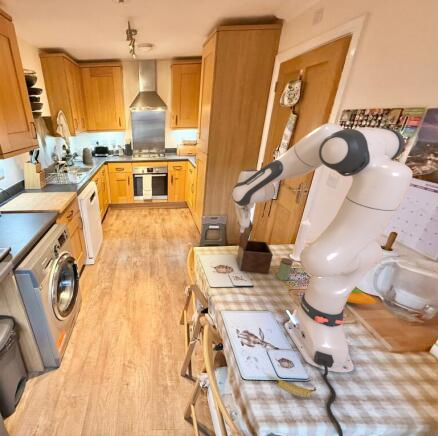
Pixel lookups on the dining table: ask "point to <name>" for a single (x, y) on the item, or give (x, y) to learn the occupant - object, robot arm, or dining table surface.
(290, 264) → the spice jar
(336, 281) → the robot arm
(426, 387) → the dining table surface
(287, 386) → the banana
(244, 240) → the lid
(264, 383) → the dining table surface
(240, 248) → the box
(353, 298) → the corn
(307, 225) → the candle
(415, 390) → the dining table surface
